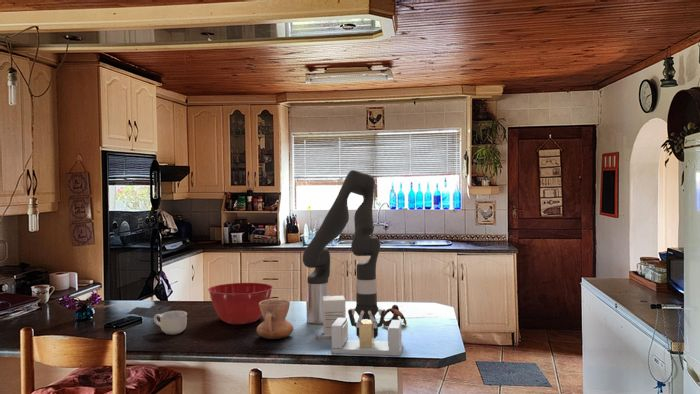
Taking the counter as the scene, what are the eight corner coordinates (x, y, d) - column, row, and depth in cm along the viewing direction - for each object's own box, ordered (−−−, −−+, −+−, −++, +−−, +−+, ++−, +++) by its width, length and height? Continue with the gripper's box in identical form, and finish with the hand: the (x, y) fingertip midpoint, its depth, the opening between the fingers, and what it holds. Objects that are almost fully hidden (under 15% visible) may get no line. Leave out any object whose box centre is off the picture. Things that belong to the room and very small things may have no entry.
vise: (331, 352, 191) (331, 326, 191) (338, 343, 203) (337, 318, 203) (400, 355, 187) (400, 328, 187) (403, 345, 199) (402, 320, 199)
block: (359, 347, 192) (359, 324, 192) (362, 342, 199) (362, 320, 199) (371, 347, 192) (371, 325, 192) (374, 342, 198) (374, 320, 198)
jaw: (315, 347, 192) (315, 325, 192) (322, 338, 204) (322, 317, 204) (342, 348, 191) (342, 325, 191) (348, 339, 202) (348, 317, 202)
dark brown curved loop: (408, 330, 225) (397, 319, 221) (389, 337, 229) (378, 327, 225) (408, 308, 234) (397, 297, 230) (390, 315, 238) (379, 305, 234)
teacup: (192, 330, 226) (192, 311, 226) (176, 337, 216) (175, 317, 216) (165, 328, 231) (164, 309, 231) (148, 334, 221) (147, 315, 221)
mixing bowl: (257, 311, 260) (257, 279, 260) (284, 323, 236) (283, 288, 236) (200, 320, 244) (199, 286, 244) (222, 333, 221) (221, 296, 220)
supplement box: (322, 332, 220) (322, 295, 220) (344, 331, 221) (343, 295, 220) (323, 338, 211) (322, 300, 211) (346, 337, 212) (345, 299, 211)
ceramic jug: (265, 330, 224) (265, 296, 224) (298, 332, 221) (298, 297, 221) (248, 342, 206) (248, 306, 206) (284, 344, 203) (283, 307, 203)
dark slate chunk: (143, 311, 266) (143, 301, 266) (179, 314, 258) (179, 304, 258) (120, 318, 252) (119, 308, 252) (157, 322, 244) (157, 311, 244)
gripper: (387, 289, 197) (387, 335, 198) (348, 288, 200) (349, 334, 200) (385, 293, 190) (385, 341, 190) (345, 292, 193) (346, 339, 193)
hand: (367, 337), depth 195 cm, fingers open, 5 cm apart
